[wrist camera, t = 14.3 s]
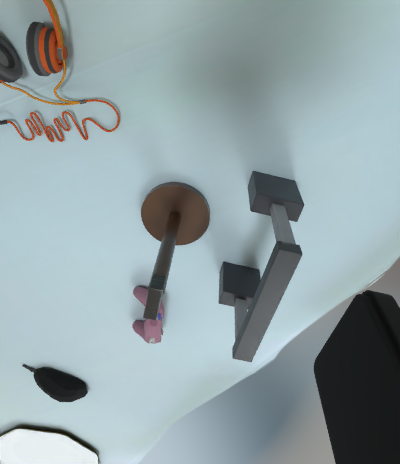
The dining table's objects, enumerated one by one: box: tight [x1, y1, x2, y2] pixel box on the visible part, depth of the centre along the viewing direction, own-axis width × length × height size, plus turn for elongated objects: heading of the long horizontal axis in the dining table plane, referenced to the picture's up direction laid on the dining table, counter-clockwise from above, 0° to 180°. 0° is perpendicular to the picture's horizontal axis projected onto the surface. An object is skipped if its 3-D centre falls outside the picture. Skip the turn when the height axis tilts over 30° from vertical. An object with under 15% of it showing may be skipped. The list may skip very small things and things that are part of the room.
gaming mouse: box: [23, 365, 88, 402], centre depth 74 cm, size 6×15×4 cm, turn 58°
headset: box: [219, 171, 304, 362], centre depth 46 cm, size 6×18×17 cm, turn 167°
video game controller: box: [133, 287, 164, 343], centre depth 60 cm, size 10×5×7 cm, turn 173°
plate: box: [0, 428, 98, 464], centre depth 94 cm, size 28×28×2 cm
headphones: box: [0, 0, 119, 142], centre depth 40 cm, size 17×5×20 cm
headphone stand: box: [141, 182, 210, 321], centre depth 44 cm, size 10×10×19 cm
